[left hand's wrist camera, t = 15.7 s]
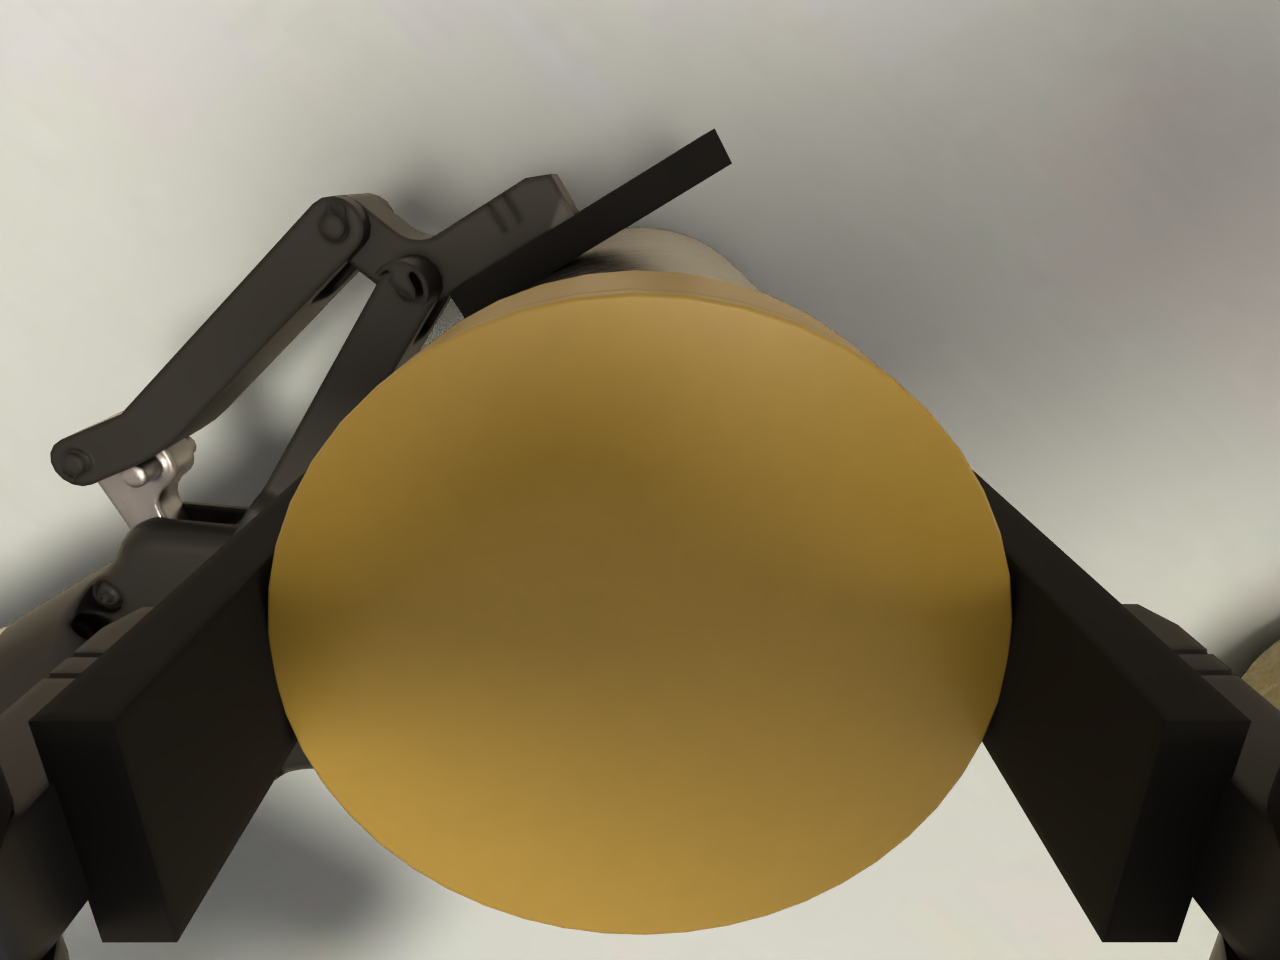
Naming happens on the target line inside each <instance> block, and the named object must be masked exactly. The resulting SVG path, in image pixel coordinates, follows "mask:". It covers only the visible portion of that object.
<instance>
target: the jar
mask: <svg viewBox="0 0 1280 960" xmlns="http://www.w3.org/2000/svg"><path fill="white" fill-rule="evenodd" d="M631 270H637V271H658V272H679V273H685V274H691V275H696V276H701V277H707V278H712V279H718V280H723V281H727V282H730V283H733V284H736V285H739V286H742V287H746V288H749V289H752V290H755V291H758V289H757V288H756V287H755V286H754V285H753V284H752V283H751V282H750V281H749V280H748V279H747V278H746V277H745V276H744V275H743V274H742V273H741V272H740V271H739V270H738V269H737V268H736V267H735V266H734V265H733V264H731V263H730V262H729V261H728V260H727V259H726V258H725V257H723V256H722V255H721V254H719V253H718V252H716V251H715V250H714V249H712V248H710V247H709V246H707V245H705V244H703V243H701V242H699V241H698V240H695V239H693V238H690V237H687V236H685V235H682V234H680V233H675V232H671V231H667V230H662V229H652V228H626V229H623V230H621V231H620V232H618V233H616V234H615V235H613V236H611V237H610V238H608V239H607V240H605V241H603V242H602V243H600V244H598V245H597V246H595V247H593V248H592V249H590V250H588V251H587V252H585V253H583V254H582V255H580V256H579V257H577V258H575V259H574V260H572V261H570V262H569V263H567V264H565V265H564V266H562V267H560V268H559V269H557V270H555V271H554V272H552V273H551V274H549V275H547V276H546V277H544V278H542V279H541V280H539V281H537V282H536V283H534V284H532V285H531V286H529V287H527V288H526V289H524V290H523V291H525V290H528V289H530V288H533V287H536V286H538V285H541V284H546V283H550V282H555V281H559V280H563V279H568V278H572V277H577V276H581V275H586V274H596V273H608V272H619V271H631ZM521 292H522V291H521ZM758 292H759V291H758ZM519 293H520V292H519Z"/></svg>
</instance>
